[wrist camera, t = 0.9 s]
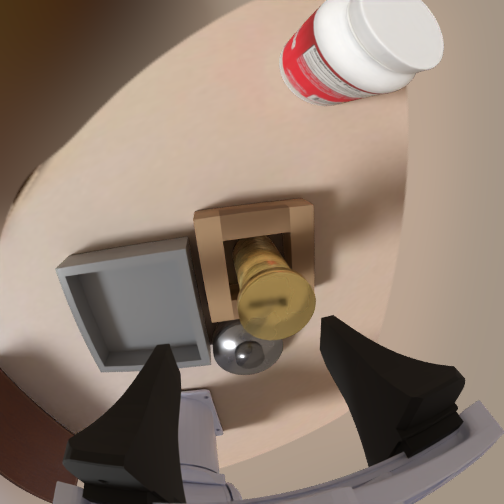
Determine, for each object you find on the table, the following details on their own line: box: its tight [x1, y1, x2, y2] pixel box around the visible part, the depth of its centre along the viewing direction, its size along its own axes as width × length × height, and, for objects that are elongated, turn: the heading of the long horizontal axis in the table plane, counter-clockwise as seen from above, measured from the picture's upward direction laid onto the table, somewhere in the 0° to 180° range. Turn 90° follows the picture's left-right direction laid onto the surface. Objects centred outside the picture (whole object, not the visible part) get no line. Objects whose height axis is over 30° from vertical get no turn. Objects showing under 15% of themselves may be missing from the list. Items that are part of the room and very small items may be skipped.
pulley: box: [213, 319, 283, 375], centre depth 23 cm, size 6×6×3 cm
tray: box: [56, 237, 211, 372], centre depth 21 cm, size 10×10×3 cm
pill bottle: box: [279, 0, 444, 106], centre depth 12 cm, size 6×6×11 cm
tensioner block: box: [193, 198, 314, 323], centre depth 21 cm, size 8×8×2 cm
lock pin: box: [233, 235, 316, 340], centre depth 18 cm, size 4×4×8 cm
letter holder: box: [0, 369, 78, 504], centre depth 19 cm, size 10×20×14 cm, turn 28°
